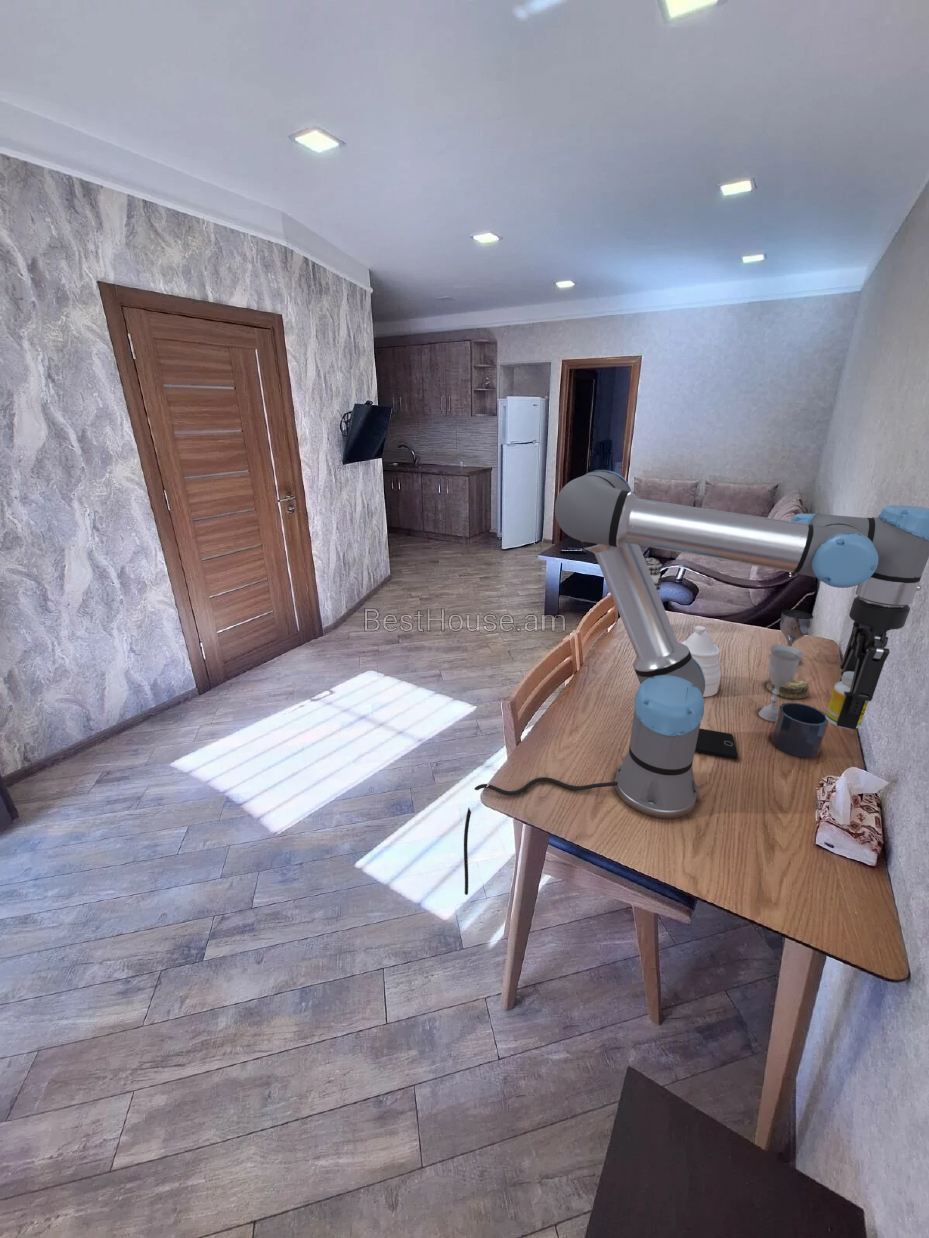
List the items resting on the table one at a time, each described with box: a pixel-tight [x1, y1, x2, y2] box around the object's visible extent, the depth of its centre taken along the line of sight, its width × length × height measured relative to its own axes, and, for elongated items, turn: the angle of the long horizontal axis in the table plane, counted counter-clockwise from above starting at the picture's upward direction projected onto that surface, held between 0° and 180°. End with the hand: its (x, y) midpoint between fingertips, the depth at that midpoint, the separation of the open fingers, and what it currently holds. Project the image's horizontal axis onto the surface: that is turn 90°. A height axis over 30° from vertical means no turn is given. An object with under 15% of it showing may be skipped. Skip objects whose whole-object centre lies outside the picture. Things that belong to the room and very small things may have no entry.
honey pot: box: [680, 625, 722, 698], centre depth 137 cm, size 13×13×18 cm
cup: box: [771, 701, 830, 759], centre depth 113 cm, size 9×9×8 cm
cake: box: [765, 677, 810, 700], centre depth 136 cm, size 10×10×5 cm
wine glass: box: [779, 609, 814, 647], centre depth 151 cm, size 8×8×15 cm
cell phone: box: [695, 727, 739, 760], centre depth 116 cm, size 9×18×1 cm, turn 71°
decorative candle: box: [644, 557, 663, 595], centre depth 173 cm, size 9×9×25 cm
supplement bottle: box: [825, 671, 870, 730], centre depth 91 cm, size 5×5×10 cm
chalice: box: [758, 644, 804, 723], centre depth 122 cm, size 7×7×18 cm
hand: (842, 717), depth 93 cm, fingers closed on supplement bottle, 5 cm apart
